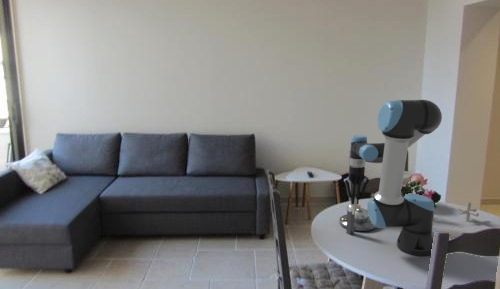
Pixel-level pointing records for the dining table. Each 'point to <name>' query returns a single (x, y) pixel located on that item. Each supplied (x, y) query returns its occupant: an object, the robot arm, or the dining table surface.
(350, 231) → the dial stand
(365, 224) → the turntable
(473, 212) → the pipe connector
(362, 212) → the cover
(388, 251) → the dining table surface
